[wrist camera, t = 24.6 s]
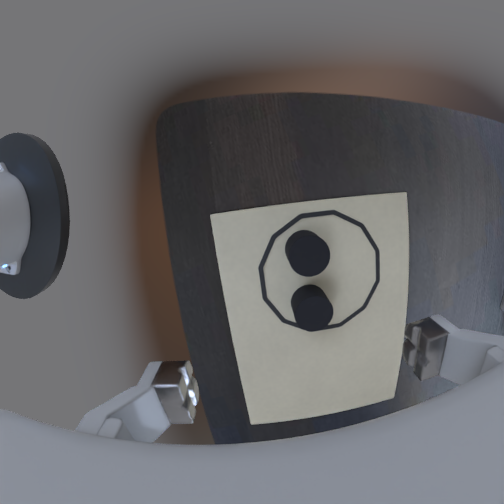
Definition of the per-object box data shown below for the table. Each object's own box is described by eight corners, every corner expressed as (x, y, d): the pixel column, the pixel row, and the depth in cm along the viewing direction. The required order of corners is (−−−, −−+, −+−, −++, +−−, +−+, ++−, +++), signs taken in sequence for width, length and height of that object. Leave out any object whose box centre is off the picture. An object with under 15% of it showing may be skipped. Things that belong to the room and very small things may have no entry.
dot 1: (287, 269, 30) (291, 279, 26) (282, 232, 29) (286, 238, 26) (323, 264, 30) (331, 273, 26) (320, 227, 29) (328, 232, 25)
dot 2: (292, 319, 31) (296, 334, 28) (289, 287, 30) (293, 299, 27) (326, 314, 31) (334, 328, 28) (324, 281, 30) (332, 293, 27)
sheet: (251, 421, 36) (251, 425, 35) (210, 214, 29) (209, 215, 28) (392, 395, 35) (394, 398, 34) (404, 192, 28) (407, 192, 28)
